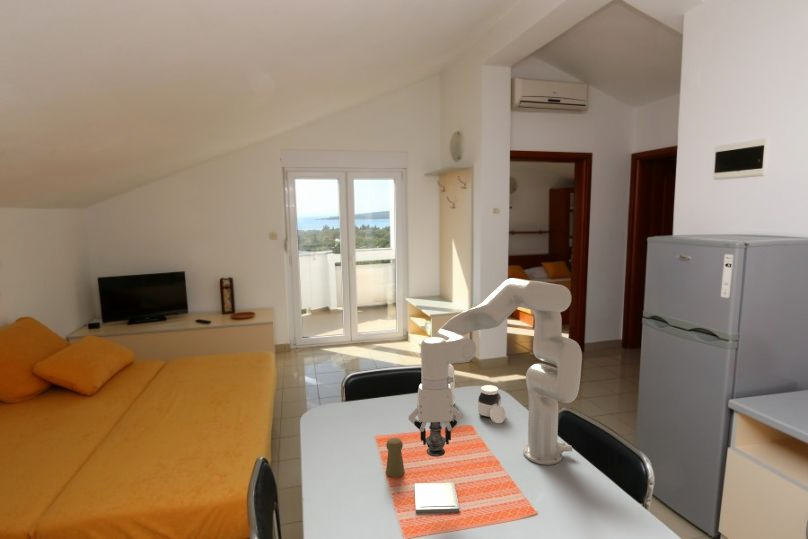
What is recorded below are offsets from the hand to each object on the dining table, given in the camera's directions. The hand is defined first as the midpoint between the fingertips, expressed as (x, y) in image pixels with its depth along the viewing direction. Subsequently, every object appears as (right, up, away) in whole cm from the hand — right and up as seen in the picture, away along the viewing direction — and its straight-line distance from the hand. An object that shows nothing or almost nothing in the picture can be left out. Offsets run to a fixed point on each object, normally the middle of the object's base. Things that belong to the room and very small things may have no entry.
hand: (435, 441), depth 128 cm
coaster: (0, -17, +2) cm, 17 cm away
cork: (-12, -16, +16) cm, 26 cm away
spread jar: (+27, -11, +53) cm, 60 cm away
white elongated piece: (+7, -9, +67) cm, 68 cm away
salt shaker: (0, -3, 0) cm, 3 cm away
